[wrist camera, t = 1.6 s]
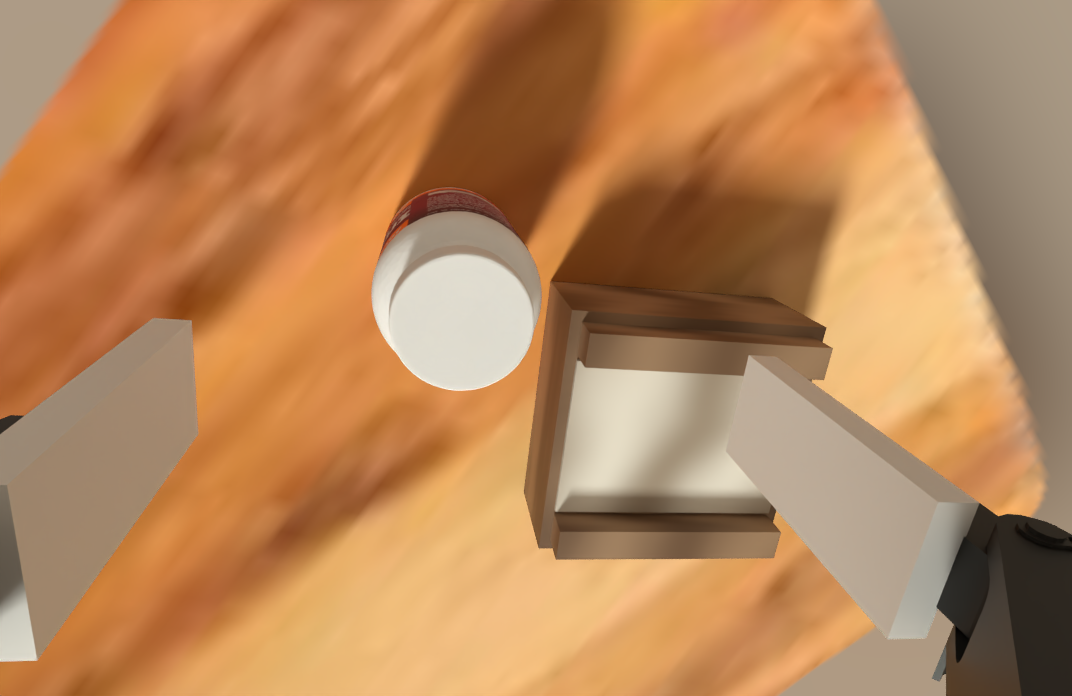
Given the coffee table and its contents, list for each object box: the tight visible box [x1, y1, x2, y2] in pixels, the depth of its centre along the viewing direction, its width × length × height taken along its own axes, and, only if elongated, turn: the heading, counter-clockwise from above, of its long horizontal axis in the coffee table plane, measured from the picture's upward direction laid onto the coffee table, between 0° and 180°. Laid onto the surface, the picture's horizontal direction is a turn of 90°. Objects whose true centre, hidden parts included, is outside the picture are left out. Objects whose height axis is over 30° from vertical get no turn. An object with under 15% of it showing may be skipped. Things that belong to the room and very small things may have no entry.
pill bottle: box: [372, 187, 542, 391], centre depth 26 cm, size 6×6×11 cm
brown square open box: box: [524, 281, 833, 559], centre depth 32 cm, size 12×12×6 cm
